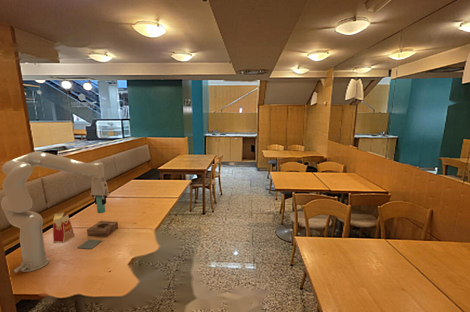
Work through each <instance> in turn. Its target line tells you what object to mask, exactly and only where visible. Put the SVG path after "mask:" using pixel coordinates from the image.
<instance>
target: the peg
mask: <svg viewBox="0 0 470 312" xmlns="http://www.w3.org/2000/svg"><path fill="white" fill-rule="evenodd" d="M102 199H103V198H102V196H101V195H98V196H96V203H97V204H96V210H97V211H96V212H97V214H103V213H106V204H104V205H103V204H102Z"/></svg>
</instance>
